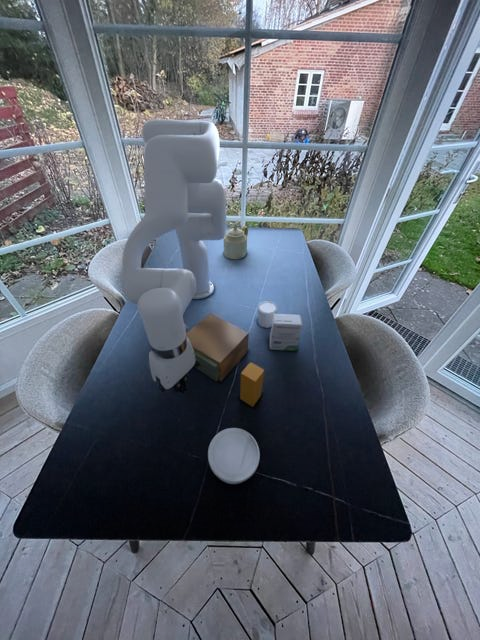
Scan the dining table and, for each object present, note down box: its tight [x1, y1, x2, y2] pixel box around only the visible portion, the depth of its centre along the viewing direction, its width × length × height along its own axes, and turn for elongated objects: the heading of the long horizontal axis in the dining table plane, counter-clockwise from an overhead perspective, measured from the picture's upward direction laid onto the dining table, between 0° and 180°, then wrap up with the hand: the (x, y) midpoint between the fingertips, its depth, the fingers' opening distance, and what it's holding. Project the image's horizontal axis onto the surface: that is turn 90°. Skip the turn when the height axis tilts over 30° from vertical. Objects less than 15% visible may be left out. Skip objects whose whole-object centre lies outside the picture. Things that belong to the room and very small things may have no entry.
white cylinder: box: [257, 300, 279, 328], centre depth 92 cm, size 7×7×7 cm
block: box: [239, 361, 265, 408], centre depth 69 cm, size 4×4×12 cm
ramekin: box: [207, 427, 261, 485], centre depth 59 cm, size 11×11×5 cm
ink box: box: [269, 313, 304, 351], centre depth 83 cm, size 8×5×12 cm, turn 87°
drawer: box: [192, 349, 219, 382], centre depth 79 cm, size 14×14×7 cm
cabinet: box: [186, 312, 250, 382], centre depth 80 cm, size 14×15×9 cm
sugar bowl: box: [223, 223, 249, 260], centre depth 125 cm, size 15×11×15 cm
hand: (180, 389), depth 68 cm, fingers closed
